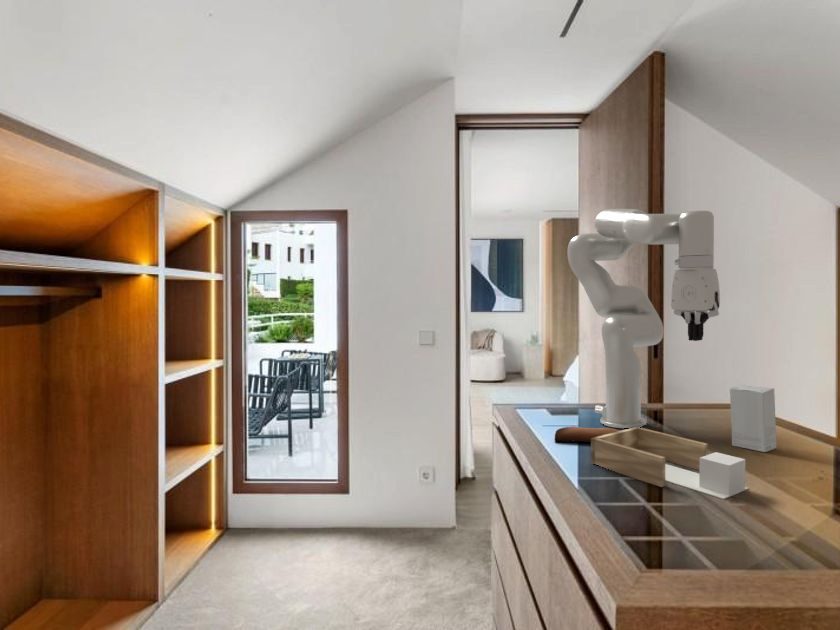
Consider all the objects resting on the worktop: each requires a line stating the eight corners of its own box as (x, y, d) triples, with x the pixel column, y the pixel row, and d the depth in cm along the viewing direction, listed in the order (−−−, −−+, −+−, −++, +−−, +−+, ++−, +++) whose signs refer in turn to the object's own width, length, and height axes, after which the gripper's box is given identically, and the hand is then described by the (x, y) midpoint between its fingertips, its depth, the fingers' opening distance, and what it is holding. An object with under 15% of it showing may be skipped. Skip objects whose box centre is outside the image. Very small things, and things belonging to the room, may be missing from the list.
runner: (611, 464, 132) (612, 463, 132) (637, 456, 136) (637, 455, 136) (723, 499, 110) (723, 498, 110) (748, 488, 115) (748, 487, 115)
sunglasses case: (625, 437, 152) (626, 419, 149) (627, 457, 147) (627, 439, 143) (555, 434, 157) (554, 416, 154) (555, 453, 152) (553, 435, 148)
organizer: (661, 487, 117) (661, 458, 116) (591, 463, 132) (590, 438, 132) (707, 470, 126) (707, 443, 125) (636, 450, 141) (636, 426, 141)
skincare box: (776, 448, 139) (777, 388, 138) (764, 453, 136) (765, 391, 135) (741, 441, 146) (742, 383, 145) (728, 445, 143) (729, 386, 142)
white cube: (745, 488, 114) (745, 459, 114) (728, 495, 111) (729, 465, 111) (715, 480, 119) (715, 451, 119) (699, 486, 116) (699, 457, 116)
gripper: (658, 264, 141) (658, 339, 142) (717, 262, 128) (717, 344, 130) (676, 264, 145) (676, 336, 146) (735, 262, 132) (735, 341, 134)
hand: (695, 340), depth 138 cm, fingers closed
